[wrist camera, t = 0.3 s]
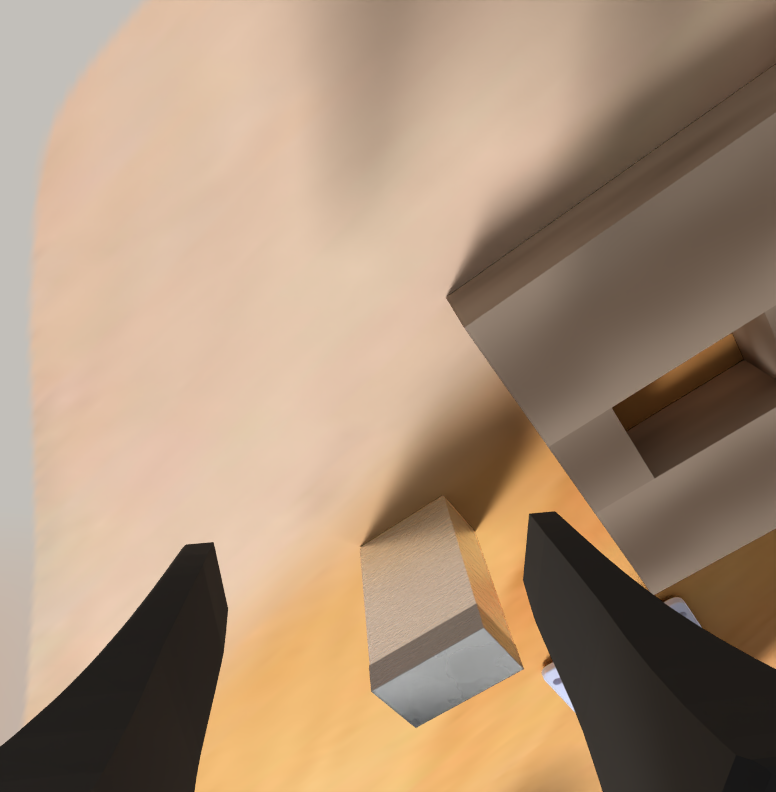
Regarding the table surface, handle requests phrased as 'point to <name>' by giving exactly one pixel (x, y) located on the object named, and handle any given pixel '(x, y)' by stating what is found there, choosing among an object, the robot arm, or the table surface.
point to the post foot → (654, 339)
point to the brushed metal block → (432, 615)
